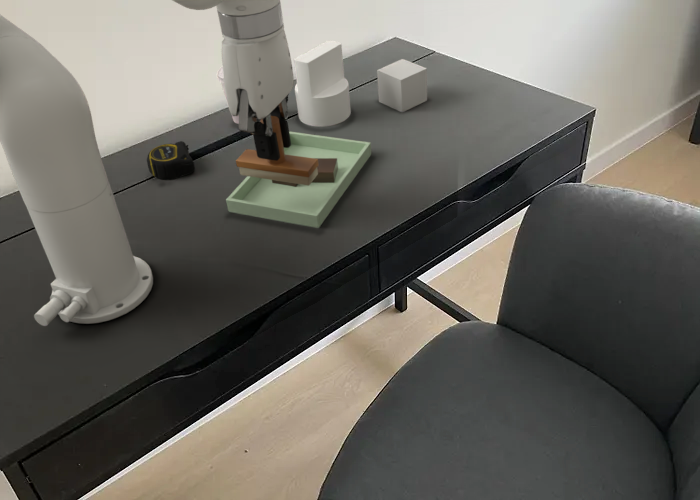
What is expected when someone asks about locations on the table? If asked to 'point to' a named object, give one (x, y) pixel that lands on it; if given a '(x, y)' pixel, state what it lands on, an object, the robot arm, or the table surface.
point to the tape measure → (170, 161)
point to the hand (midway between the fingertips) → (274, 151)
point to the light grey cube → (402, 85)
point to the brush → (278, 163)
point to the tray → (301, 200)
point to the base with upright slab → (322, 86)
